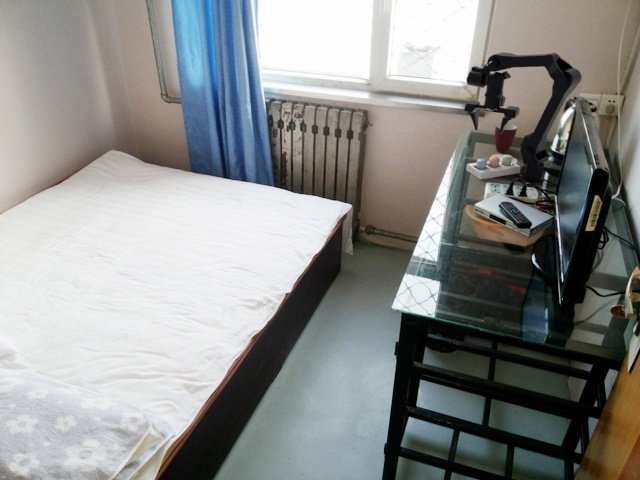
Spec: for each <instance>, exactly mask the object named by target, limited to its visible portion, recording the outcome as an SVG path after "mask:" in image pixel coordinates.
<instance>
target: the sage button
mask: <svg viewBox="0 0 640 480" xmlns="http://www.w3.org/2000/svg"><path fill="white" fill-rule="evenodd" d="M501 159H502V161H501V162H502V165H504V166H510V165H511V163H512V162H513V156H512V155H510V154H502V156H501Z"/></svg>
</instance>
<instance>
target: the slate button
mask: <svg viewBox="0 0 640 480" xmlns="http://www.w3.org/2000/svg"><path fill="white" fill-rule="evenodd" d="M487 161H488V160H487V159H486V158H477V160H476V162H475V163H476V169H478V170H485V169H486V166H487Z"/></svg>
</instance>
